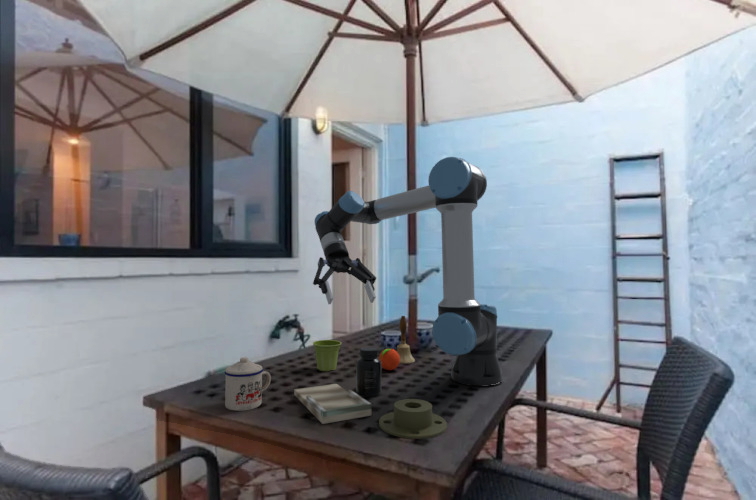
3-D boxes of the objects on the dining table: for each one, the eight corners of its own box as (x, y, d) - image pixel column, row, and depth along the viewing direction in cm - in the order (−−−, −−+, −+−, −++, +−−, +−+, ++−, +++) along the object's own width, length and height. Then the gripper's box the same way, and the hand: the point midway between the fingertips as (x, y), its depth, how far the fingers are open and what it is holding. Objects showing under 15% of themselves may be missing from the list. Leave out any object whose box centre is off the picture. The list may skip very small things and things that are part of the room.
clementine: (389, 374, 136) (390, 352, 136) (372, 371, 140) (372, 348, 140) (404, 369, 142) (404, 347, 142) (386, 366, 146) (387, 345, 147)
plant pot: (343, 366, 146) (343, 340, 146) (338, 373, 137) (338, 346, 137) (316, 365, 147) (316, 339, 147) (309, 372, 137) (309, 345, 138)
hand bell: (388, 362, 152) (388, 316, 152) (396, 357, 159) (396, 314, 160) (410, 364, 149) (411, 318, 149) (418, 359, 156) (418, 315, 156)
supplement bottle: (385, 391, 119) (385, 347, 119) (374, 399, 113) (375, 352, 113) (363, 388, 122) (363, 345, 122) (351, 395, 116) (352, 350, 116)
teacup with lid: (235, 414, 101) (236, 364, 101) (217, 404, 107) (218, 357, 107) (279, 402, 109) (280, 356, 109) (260, 394, 115) (261, 350, 116)
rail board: (294, 394, 115) (294, 384, 115) (336, 389, 121) (336, 379, 121) (322, 423, 95) (322, 411, 96) (371, 415, 101) (371, 403, 101)
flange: (379, 417, 88) (452, 418, 89) (379, 393, 103) (441, 394, 104) (379, 440, 88) (452, 441, 88) (378, 413, 103) (441, 414, 103)
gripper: (365, 258, 149) (385, 306, 135) (294, 257, 137) (308, 310, 124) (372, 242, 144) (394, 291, 131) (300, 240, 133) (315, 293, 119)
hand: (352, 300), depth 127 cm, fingers open, 13 cm apart
